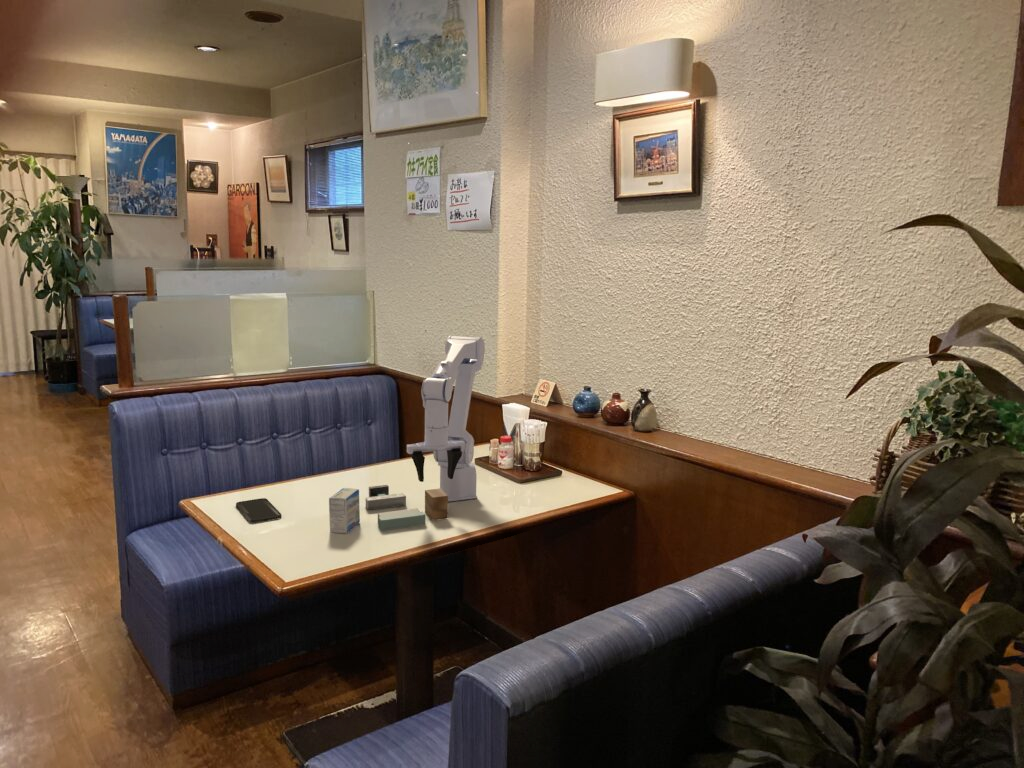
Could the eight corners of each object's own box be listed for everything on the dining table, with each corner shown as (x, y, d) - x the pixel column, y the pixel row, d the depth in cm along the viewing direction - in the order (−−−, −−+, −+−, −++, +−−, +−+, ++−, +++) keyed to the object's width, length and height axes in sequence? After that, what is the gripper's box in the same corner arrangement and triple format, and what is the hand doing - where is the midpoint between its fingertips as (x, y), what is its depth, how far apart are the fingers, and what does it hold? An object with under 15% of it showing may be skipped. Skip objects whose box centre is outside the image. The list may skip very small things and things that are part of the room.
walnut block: (439, 510, 197) (439, 488, 196) (447, 518, 191) (448, 495, 190) (424, 512, 195) (424, 490, 194) (432, 520, 190) (432, 497, 189)
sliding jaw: (396, 494, 208) (396, 483, 207) (406, 505, 200) (405, 493, 199) (359, 499, 203) (359, 487, 203) (368, 510, 195) (367, 498, 195)
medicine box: (347, 534, 179) (346, 499, 178) (329, 532, 180) (328, 497, 179) (360, 522, 187) (359, 488, 185) (343, 521, 188) (342, 487, 186)
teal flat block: (419, 517, 191) (419, 508, 191) (425, 524, 187) (425, 514, 186) (375, 523, 187) (375, 513, 186) (381, 530, 182) (381, 520, 182)
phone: (265, 497, 201) (282, 515, 189) (265, 501, 201) (282, 519, 189) (234, 502, 197) (249, 520, 184) (234, 506, 197) (249, 525, 185)
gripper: (412, 431, 183) (412, 486, 185) (469, 427, 188) (468, 481, 191) (404, 425, 189) (404, 478, 191) (459, 421, 195) (459, 473, 197)
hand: (435, 479), depth 191 cm, fingers open, 7 cm apart
